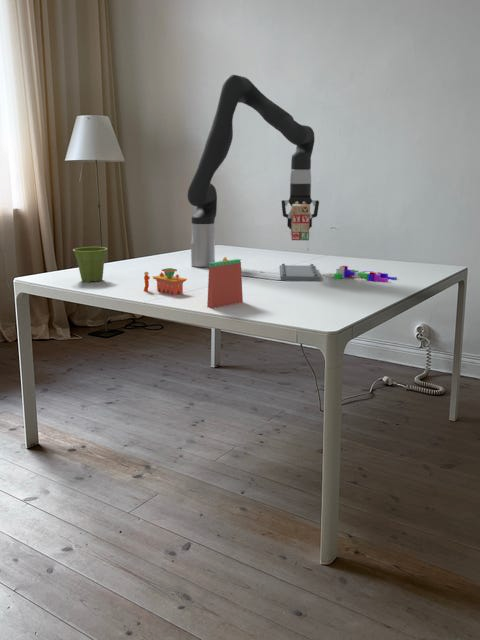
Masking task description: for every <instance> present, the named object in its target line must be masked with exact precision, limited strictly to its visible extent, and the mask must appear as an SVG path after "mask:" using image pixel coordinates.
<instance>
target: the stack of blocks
mask: <svg viewBox="0 0 480 640" xmlns="http://www.w3.org/2000/svg"><path fill="white" fill-rule="evenodd" d="M290 208H291V209H292V216H291V229H290V237H291V241H309V240H310V229H309V223H310V213H311V204H310V205H309V204H292V206H291V207H290ZM291 209H290V210H291Z"/></svg>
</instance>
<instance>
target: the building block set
mask: <svg viewBox="0 0 480 640" xmlns="http://www.w3.org/2000/svg"><path fill="white" fill-rule="evenodd" d="M348 268H349V266H348V265H341V266H339V267H338V268H337V269H336V270H335V271H336V273H333V272H325V273H322V274H321V277H328V278H333V279H334V280H340V279H353V280H354V281H355V282H359V283H361V282H367V281H369V282H379V283H388V282H389V279H391V280H390V281H395V280H397V277H396V276H395V277H394V276H389V273H385V272H379V271H370V270H366V271H365V270H364V271H359V270H356V269H348ZM394 279H395V280H394Z"/></svg>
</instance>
